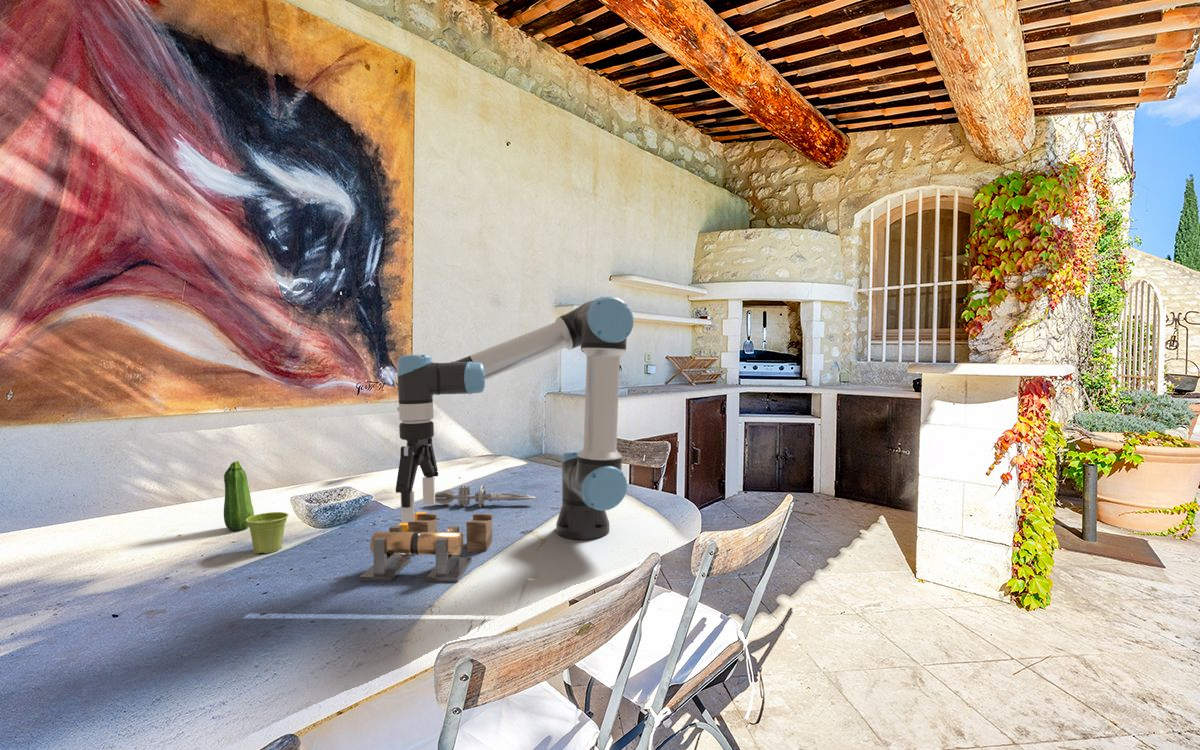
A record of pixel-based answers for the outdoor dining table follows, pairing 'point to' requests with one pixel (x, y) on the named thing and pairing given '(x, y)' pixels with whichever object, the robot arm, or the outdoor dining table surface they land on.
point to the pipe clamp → (405, 525)
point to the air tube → (419, 542)
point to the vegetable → (236, 498)
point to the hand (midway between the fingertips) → (419, 512)
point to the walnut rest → (476, 529)
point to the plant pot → (267, 531)
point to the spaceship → (476, 496)
